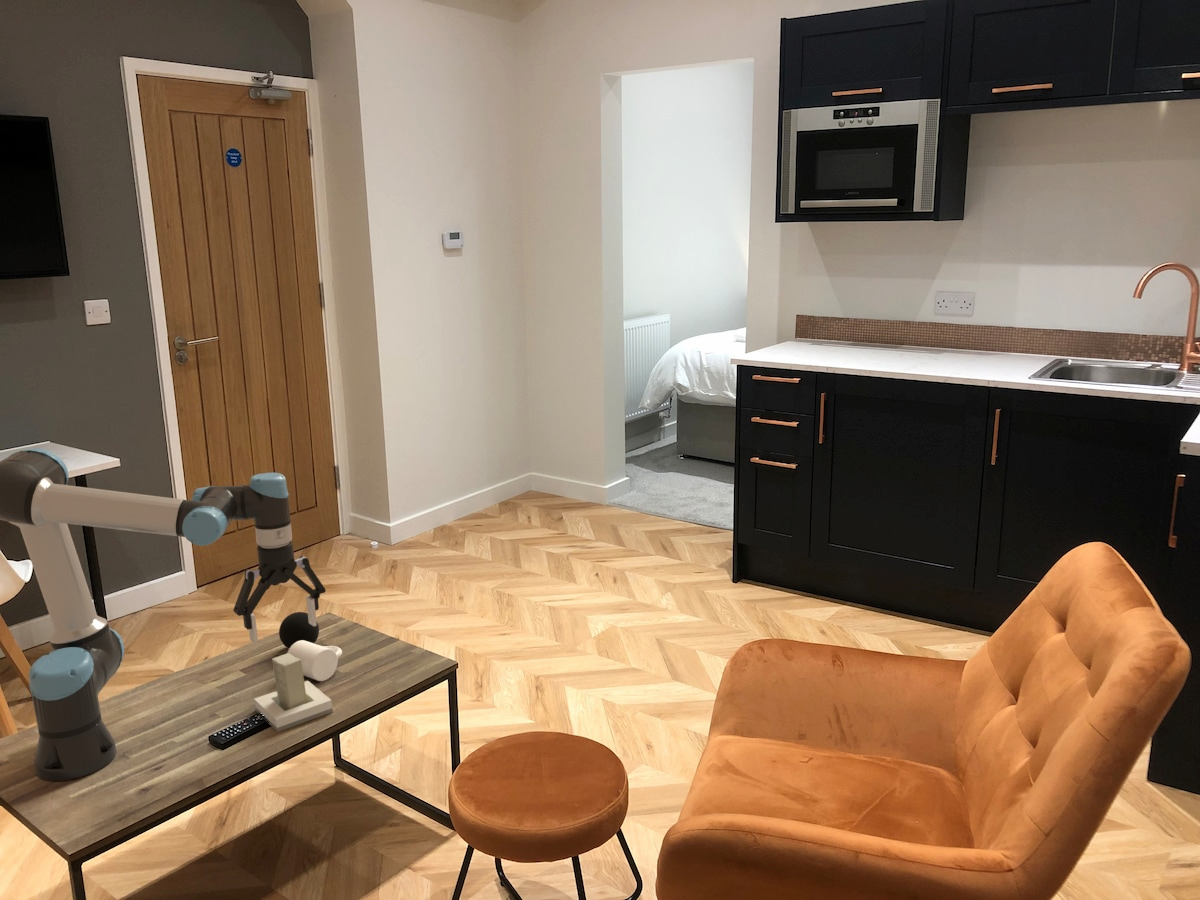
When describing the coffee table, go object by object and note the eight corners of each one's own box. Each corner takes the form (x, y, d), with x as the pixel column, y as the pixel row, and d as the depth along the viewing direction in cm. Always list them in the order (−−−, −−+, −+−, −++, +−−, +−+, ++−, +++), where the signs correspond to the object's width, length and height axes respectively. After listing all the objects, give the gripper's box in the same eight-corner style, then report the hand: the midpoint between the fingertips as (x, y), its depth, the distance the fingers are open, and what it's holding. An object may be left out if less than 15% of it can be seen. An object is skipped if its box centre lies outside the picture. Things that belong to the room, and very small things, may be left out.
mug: (314, 686, 235) (310, 656, 233) (287, 676, 241) (283, 647, 239) (351, 667, 245) (349, 637, 243) (325, 658, 250) (322, 629, 248)
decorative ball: (302, 637, 263) (298, 603, 260) (328, 645, 257) (325, 610, 255) (273, 652, 254) (268, 616, 252) (299, 660, 249) (295, 624, 247)
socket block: (277, 732, 215) (276, 719, 214) (255, 710, 224) (254, 698, 224) (332, 712, 223) (331, 700, 222) (309, 692, 232) (307, 680, 232)
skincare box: (308, 708, 222) (302, 659, 219) (290, 715, 219) (284, 666, 216) (295, 699, 227) (289, 651, 224) (277, 706, 224) (271, 658, 221)
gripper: (223, 560, 203) (234, 654, 208) (335, 534, 219) (342, 622, 224) (211, 551, 209) (222, 643, 214) (321, 527, 224) (328, 612, 229)
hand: (283, 632), depth 219 cm, fingers open, 13 cm apart
